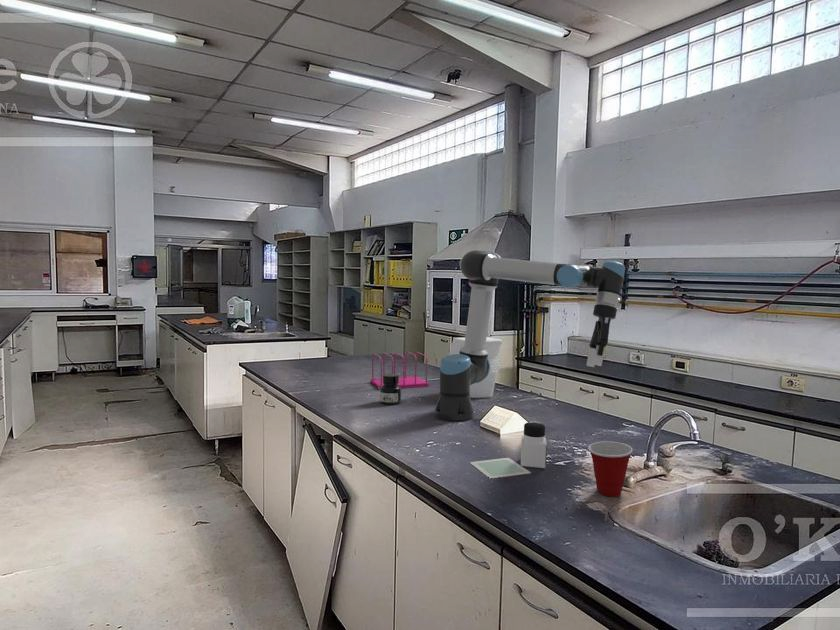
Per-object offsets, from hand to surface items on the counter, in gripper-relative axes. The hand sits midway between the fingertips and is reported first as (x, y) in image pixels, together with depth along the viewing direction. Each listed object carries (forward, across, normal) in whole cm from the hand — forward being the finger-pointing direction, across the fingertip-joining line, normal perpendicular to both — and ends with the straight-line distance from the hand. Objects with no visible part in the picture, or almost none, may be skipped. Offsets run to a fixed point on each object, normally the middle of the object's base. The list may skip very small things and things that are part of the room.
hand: (593, 366), depth 184 cm
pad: (+37, -32, +24) cm, 54 cm away
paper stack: (+22, +60, +42) cm, 76 cm away
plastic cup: (+34, -44, -3) cm, 55 cm away
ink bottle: (+33, +36, +73) cm, 87 cm away
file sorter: (+26, +73, +78) cm, 110 cm away
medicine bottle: (+34, -26, +15) cm, 45 cm away
